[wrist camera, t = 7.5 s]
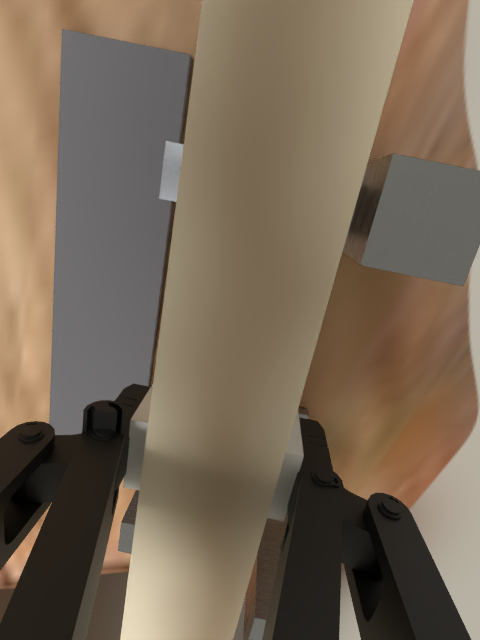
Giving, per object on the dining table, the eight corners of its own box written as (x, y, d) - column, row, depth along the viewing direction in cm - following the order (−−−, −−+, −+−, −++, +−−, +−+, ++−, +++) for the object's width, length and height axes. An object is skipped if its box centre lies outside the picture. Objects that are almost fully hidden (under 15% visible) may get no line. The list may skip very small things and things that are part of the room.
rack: (172, 433, 32) (85, 644, 17) (218, 143, 25) (136, 57, 10) (293, 458, 32) (313, 695, 17) (375, 175, 25) (542, 138, 9)
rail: (147, 598, 20) (109, 721, 16) (235, 36, 12) (211, -69, 7) (219, 614, 20) (203, 742, 16) (360, 61, 12) (421, -28, 7)
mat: (52, 432, 33) (49, 436, 32) (67, 33, 23) (62, 29, 23) (141, 451, 33) (139, 455, 32) (191, 58, 23) (190, 54, 23)
